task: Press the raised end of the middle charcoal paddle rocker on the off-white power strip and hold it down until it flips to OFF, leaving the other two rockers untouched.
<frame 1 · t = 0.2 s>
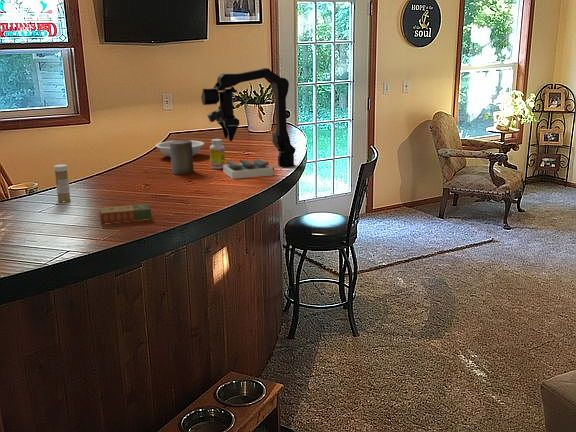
hand: (228, 139, 278), 14 cm above the table, tool pointing down, fingers open, 9 cm apart
pillar candle: (182, 172, 281), on the table
power strip: (247, 173, 277), on the table
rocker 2: (247, 164, 276), point 4 cm above the table, hinge at -12.0°
sprinkles bottle: (64, 201, 235), on the table
supplement bottle: (218, 168, 290), on the table
rocker 3: (234, 165, 274), point 4 cm above the table, hinge at -12.0°
carton: (126, 220, 210), on the table
soup bowl: (180, 157, 318), on the table
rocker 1: (260, 162, 277), point 4 cm above the table, hinge at 12.0°
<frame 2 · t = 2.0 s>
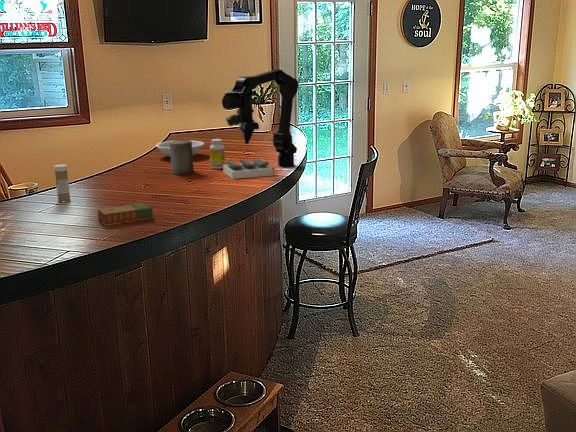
hand: (246, 143, 273), 13 cm above the table, tool pointing down, fingers closed
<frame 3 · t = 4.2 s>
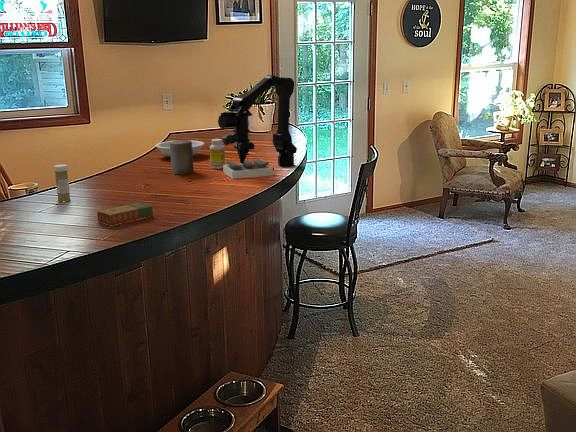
hand: (241, 163, 274), 5 cm above the table, tool pointing down, fingers closed, pressing on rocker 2
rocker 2: (247, 164, 276), point 4 cm above the table, hinge at -7.4°, touching gripper
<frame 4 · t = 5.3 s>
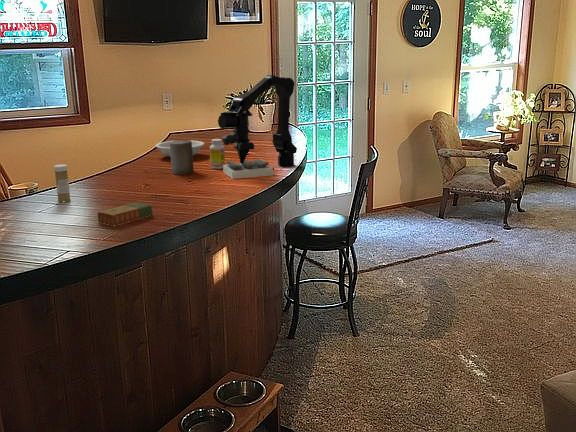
hand: (241, 163, 274), 5 cm above the table, tool pointing down, fingers closed, pressing on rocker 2
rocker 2: (247, 164, 276), point 4 cm above the table, hinge at -1.8°, touching gripper
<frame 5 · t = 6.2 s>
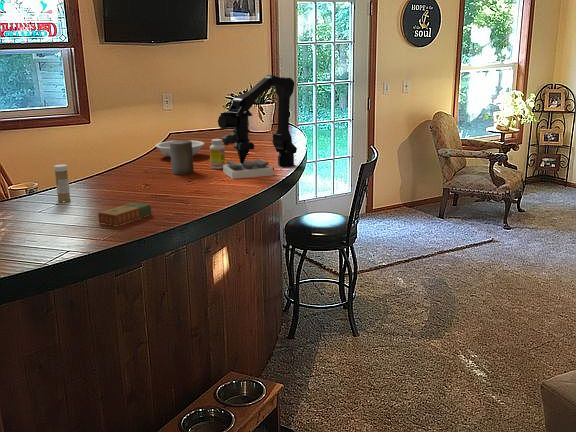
hand: (241, 163, 274), 5 cm above the table, tool pointing down, fingers closed, pressing on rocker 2
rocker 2: (247, 164, 275), point 4 cm above the table, hinge at 1.3°, touching gripper
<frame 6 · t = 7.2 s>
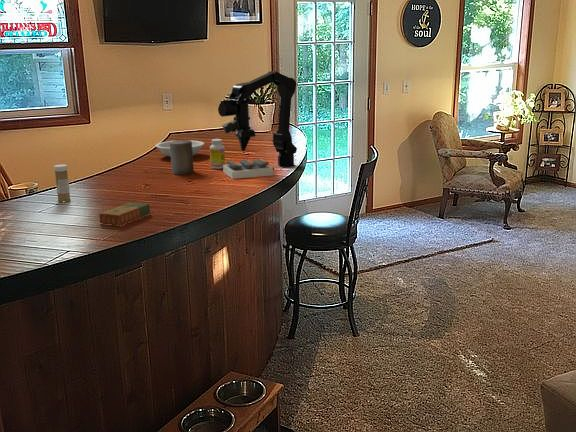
hand: (243, 150, 274), 10 cm above the table, tool pointing down, fingers closed
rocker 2: (247, 164, 275), point 4 cm above the table, hinge at 2.8°
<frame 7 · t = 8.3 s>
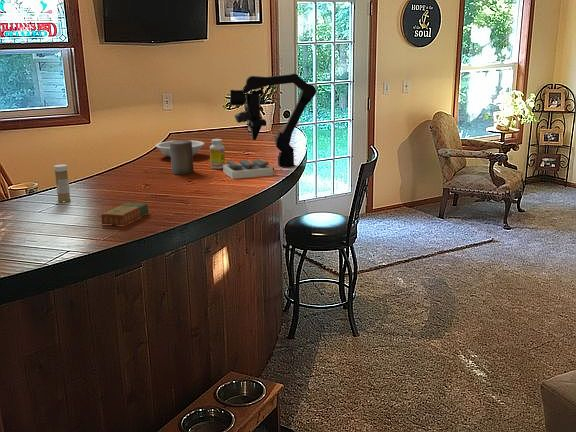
hand: (254, 139, 286), 13 cm above the table, tool pointing down, fingers closed
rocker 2: (247, 164, 275), point 4 cm above the table, hinge at 3.7°
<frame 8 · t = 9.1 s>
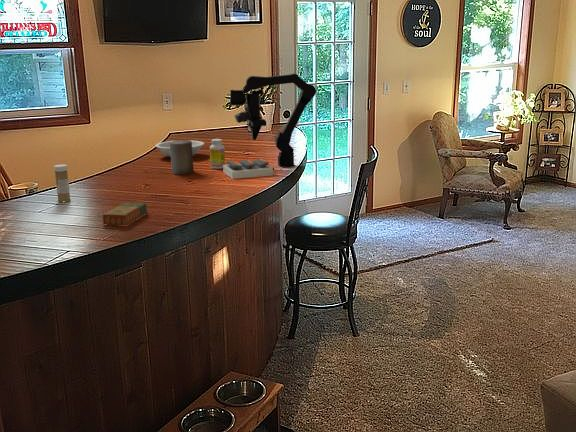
hand: (254, 139, 286), 13 cm above the table, tool pointing down, fingers closed
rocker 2: (247, 164, 275), point 4 cm above the table, hinge at 4.1°
at the end: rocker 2 at +4° (first picture: -12°); rocker 3 at -12° (first picture: -12°); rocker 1 at +12° (first picture: +12°) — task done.
